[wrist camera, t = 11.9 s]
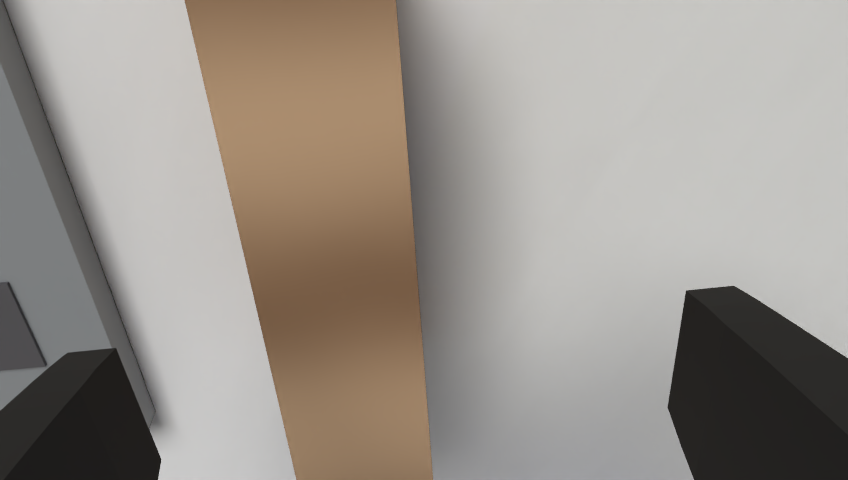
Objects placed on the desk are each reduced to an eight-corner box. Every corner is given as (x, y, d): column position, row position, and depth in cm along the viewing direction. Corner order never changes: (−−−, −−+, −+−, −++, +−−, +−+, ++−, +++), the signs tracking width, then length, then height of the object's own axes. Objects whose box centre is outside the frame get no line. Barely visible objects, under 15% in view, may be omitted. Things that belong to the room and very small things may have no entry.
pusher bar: (419, 337, 21) (435, 504, 16) (321, 346, 21) (305, 516, 16) (384, -97, 15) (391, -52, 10) (244, -87, 15) (176, -36, 10)
